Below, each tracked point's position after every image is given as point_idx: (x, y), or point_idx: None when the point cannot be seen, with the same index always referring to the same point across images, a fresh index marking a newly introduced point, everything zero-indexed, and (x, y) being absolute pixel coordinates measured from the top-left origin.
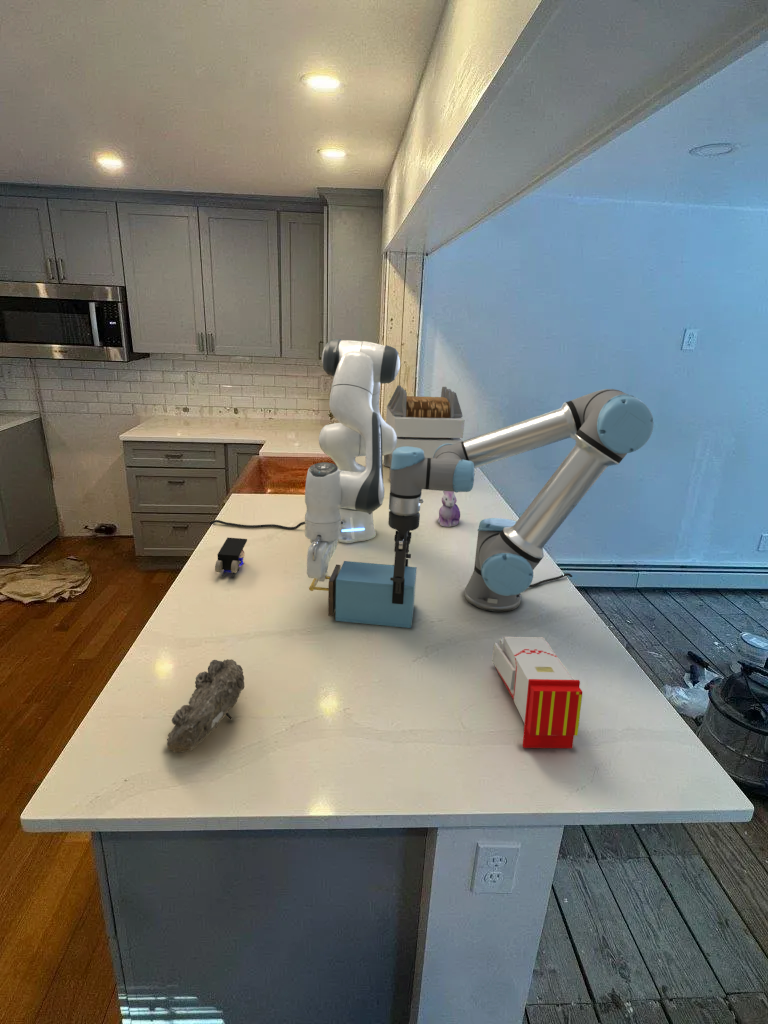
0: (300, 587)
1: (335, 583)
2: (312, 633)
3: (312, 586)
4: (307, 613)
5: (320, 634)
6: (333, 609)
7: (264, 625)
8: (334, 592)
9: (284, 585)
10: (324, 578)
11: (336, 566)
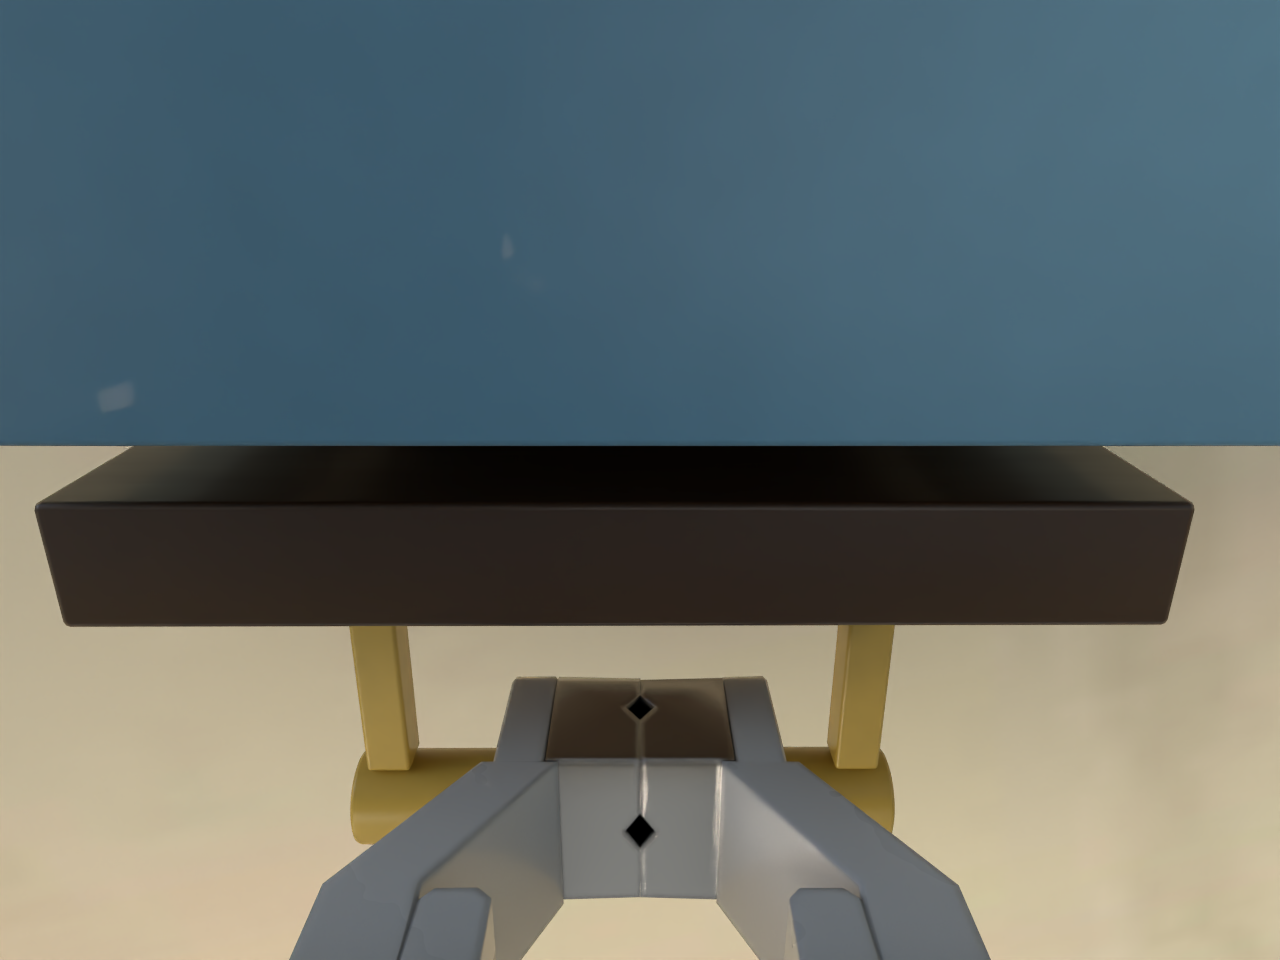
0: (207, 800)
1: None
2: (1192, 466)
3: (883, 809)
4: None
5: None
6: None
7: (1034, 907)
8: None
9: (225, 942)
10: (772, 714)
11: (198, 595)
